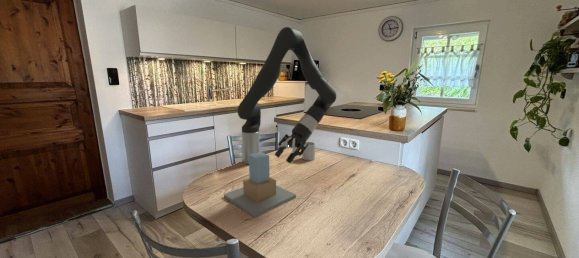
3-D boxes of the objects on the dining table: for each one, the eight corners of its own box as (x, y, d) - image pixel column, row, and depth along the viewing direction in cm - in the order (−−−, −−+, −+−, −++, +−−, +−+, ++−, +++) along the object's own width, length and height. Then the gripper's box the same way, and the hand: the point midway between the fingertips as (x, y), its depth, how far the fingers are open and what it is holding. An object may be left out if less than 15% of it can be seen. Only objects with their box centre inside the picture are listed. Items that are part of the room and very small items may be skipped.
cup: (299, 159, 144) (299, 143, 142) (309, 154, 152) (309, 140, 150) (310, 161, 140) (310, 146, 138) (319, 156, 148) (320, 142, 146)
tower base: (224, 197, 99) (223, 179, 98) (264, 182, 113) (263, 166, 111) (254, 217, 85) (254, 197, 84) (296, 197, 99) (296, 180, 97)
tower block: (249, 179, 98) (248, 154, 96) (261, 175, 101) (260, 152, 99) (257, 184, 94) (256, 158, 92) (269, 180, 97) (269, 155, 95)
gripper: (290, 119, 109) (267, 149, 106) (310, 125, 98) (286, 158, 94) (300, 130, 113) (278, 159, 110) (320, 136, 102) (297, 169, 98)
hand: (282, 159), depth 102 cm, fingers open, 8 cm apart
